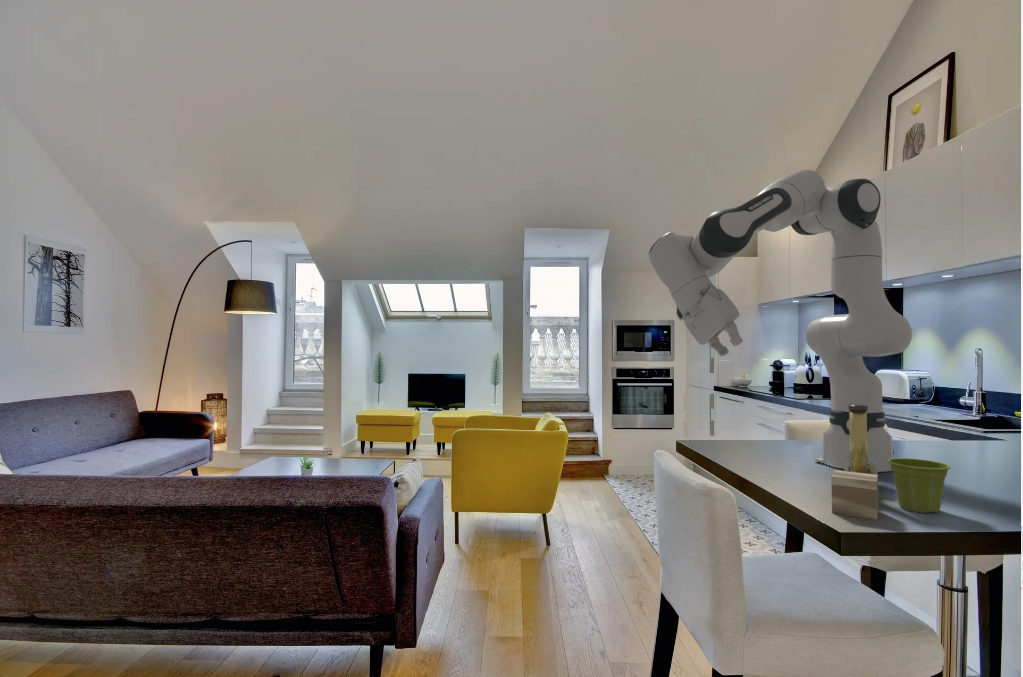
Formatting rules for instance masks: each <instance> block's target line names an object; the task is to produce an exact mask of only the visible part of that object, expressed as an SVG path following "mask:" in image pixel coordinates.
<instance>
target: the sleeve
mask: <svg viewBox="0 0 1023 677" xmlns="http://www.w3.org/2000/svg"><path fill="white" fill-rule="evenodd" d="M867 461H868V469H871V474H874V475H878V476H879V472H878V459H877V457H874V456H867ZM843 470H844V471H847V472H850V454H848V455H847V457H846V459H845V461H844V469H843Z"/></svg>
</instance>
